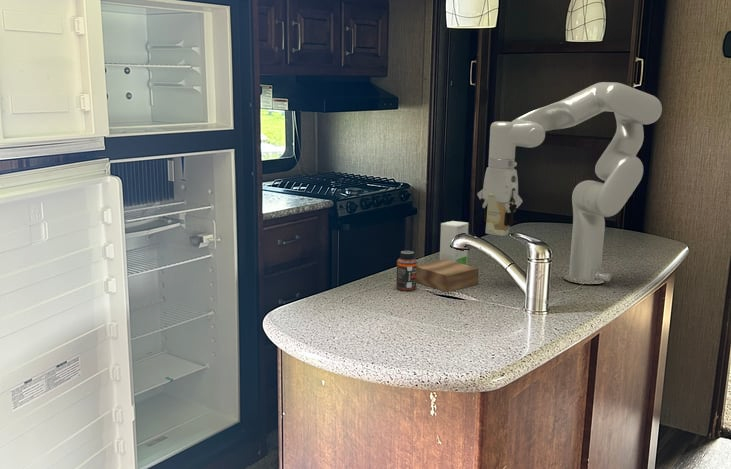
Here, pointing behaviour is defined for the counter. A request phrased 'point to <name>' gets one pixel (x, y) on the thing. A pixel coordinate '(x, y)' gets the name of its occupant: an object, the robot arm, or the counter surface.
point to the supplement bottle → (406, 271)
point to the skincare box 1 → (447, 235)
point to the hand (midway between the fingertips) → (497, 222)
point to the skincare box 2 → (496, 217)
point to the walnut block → (447, 275)
